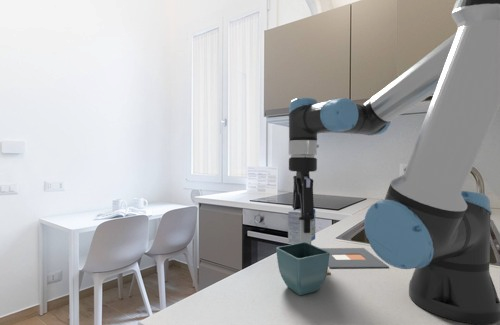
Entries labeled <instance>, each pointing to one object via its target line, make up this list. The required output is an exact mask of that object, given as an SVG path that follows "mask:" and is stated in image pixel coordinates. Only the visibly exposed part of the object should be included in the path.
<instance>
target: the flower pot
mask: <svg viewBox="0 0 500 325" xmlns="http://www.w3.org/2000/svg"><path fill="white" fill-rule="evenodd" d="M320 248H321V247H317V246H316V245H313V244H312V243H311V244H309V243H306V242H303V243H297V244H288V245H281V246H278V247H275V251H276V257H277V266H278V271H279V273H280V277H281V278H282V280H283V282H284V284H285V285H286V287H287V288H288V289H290V290H291V291H293V292H294V293H296V295H297V294H298V295H299V296H304V295H306V294H310V293H314V292H317V291H318V290H320V288H321V287H322V286H323V285H324V282H325V280H326V277H327V275H328V274H327V270H329V267H328V263H329V256H330V253H329V252H328V251H325V250H323V249H320Z"/></svg>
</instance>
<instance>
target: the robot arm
mask: <svg viewBox="0 0 500 325" xmlns="http://www.w3.org/2000/svg"><path fill="white" fill-rule="evenodd" d="M450 16H451V18H452V20H453V21H454V23H455V24H456V26H457V30H456V32H454V33H453V34H452V35H451V36H450V37H448V38H447V39H446V40H444V41H443V42H442V43H440V44H439V45H438V46H436V47H435V48H434V49H433V50H431V51H429V53H428V54H426V55H424V56H423V57H422V58H421V59H420V60H419V61H417V62H416V63H414V64H413V65H412V66H411V67H409V68H408V69H407V70H406V71H404V72H403V73H402V74H400V75H399V76H398V77H397V78H395V79H394V80H393V81H391V82H390V83H389V84H388V85H386V86H385V87H383V88H382V89H381V90H380V91H378V92H377V93H376V94H374V95H373V96H372V97H371V98H369V99H367V101H365V102H364V103H362V104H360V103H356V102H353V101H352V99H350V98H348V97H342V98H332V99H330V100H328V101H322V102H318V100H317V99H316V98H312V97H301V98H294V99H292V100H291V101H290V102H289V112H288V155H289V156H290V157H289V158H288V170H289V171H290V172H296V173H295V175H293V177H292V178H293V193H292V206H291V207H292V208H293V210H296V209H300V208H301V215H302V217H299V220H301V221H300V243H303V242H306V243H309V244H311V245H312V241H311V232H312V219H314V209H315V208H314V207H315V204H314V179H313V178H310V172H313V173H314V172H316V171H317V169H318V158H317V157H315V156H317V154H318V152H317V151H318V149H319V147H320V145H319V144H318V134H325V133H326V134H327V133H334V134H335V133H336V134H351V135H353V134H354V135H363V136H375V135H381V134H383V133H385V132H386V131H387V130H388V129H389V126H390V125H391V122H392V121H393V120H394V119H396V118H398V117H400V116H401V115H402V114H404V113H406V112H407V111H408V110H410V109H412V108H413V107H415V106H417V105H418V104H419V103H421V102H423V101H425V100H427V99H428V98H429V97H430V96H432V98H431V101H430V104H429V106H428V109H427V111H426V114H425V116H424V119H423V123H422V124H421V128H420V130H419V133H418V135H417V138H416V141H415V144H414V147H413V149H412V152H411V154H410V156H409V160H408V163H407V165H406V168H405V171H404V174H402V175H401V176H398V177H396V178H394V179H391V181H390V183H389V186H388V189H387V192H386V194H385V197H384V199H380V200H379V201H377V202H375V203H373V204H372V205H371V206H370V207H369V208H368V209H367V211H366V213H365V216H364V220H363V221H364V223H363V227H364V233H365V237H366V239H368V242H369V245H370V248H371V249H372V251H373V252H374V253H375V255H377V257H378V258H380V259H381V261H382V262H384V263H385V264H386V263H387V264H388V266H389V265H390V266H391V267H394V268H397V269H400V270H410V269H414V271H413V273H412V277H411V279H410V280H409V283H408V295H409V298H410V299H411V301H413V303H414V304H416V305H417V306H418V307H420V308H421V309H424V310H425V311H428V312H430V313H431V314H434V315H436V316H439V317H442V318H445V319H448V320H452V321H455V322H461V323H466V324H476V325H487V324H493V323H496V322H498V321H500V298H499V297H498V293H497V290H496V287H495V284H494V281H493V279H492V277H491V272H490V259H491V258H490V253H491V252H490V250H491V248H490V247H491V215H492V210H491V202H490V198H489V197H488V196H487V195H486V194H485V193H481V192H475V191H468V190H467V191H466V190H463V189H464V187H465V184H466V183H467V180H468V178H469V176H470V174H471V171H472V169H473V167H474V166H475V163H476V160H477V158H478V155H479V154H480V151H481V149H482V146H483V145H484V143H485V140H486V138H487V136H488V134H489V132H490V130H491V127H492V125H493V122H494V121H495V118H496V116H497V113H498V112H499V109H500V0H456V1H455V3H454V5H453V8H452V11H451V15H450ZM293 210H292V211H293Z"/></svg>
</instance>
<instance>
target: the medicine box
mask: <svg viewBox="0 0 500 325" xmlns="http://www.w3.org/2000/svg"><path fill="white" fill-rule="evenodd" d="M287 212H288V213H287V214H288V215H287V217H288V218H287V220H288V223H287V237H288V238H287V241H288V244H290V245H292V244H297V243H300V221H301V220H299V217H302V215H301V208H300V209H296V210H290V211H287ZM315 239H316V209H315V208H314V219H312V232H311V242H313V241H314V240H315Z"/></svg>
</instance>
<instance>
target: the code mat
mask: <svg viewBox="0 0 500 325" xmlns="http://www.w3.org/2000/svg"><path fill="white" fill-rule="evenodd" d="M319 248H320V249H323V250H325V251H328V252H329V253H330V256H329V263H328V269H389V268H390V266H389V265H387V264H386V262H384V261H383V260H382V259H381V260H380V259H379V257H378V256H375V255H374V254H373V253H372V252H370V251H369V250H367V249H365V247H343V248H342V247H340V248H339V247H336V248H335V247H333V248H332V247H330V248H329V247H327V248H326V247H324V248H323V247H322V248H321V247H319Z"/></svg>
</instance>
